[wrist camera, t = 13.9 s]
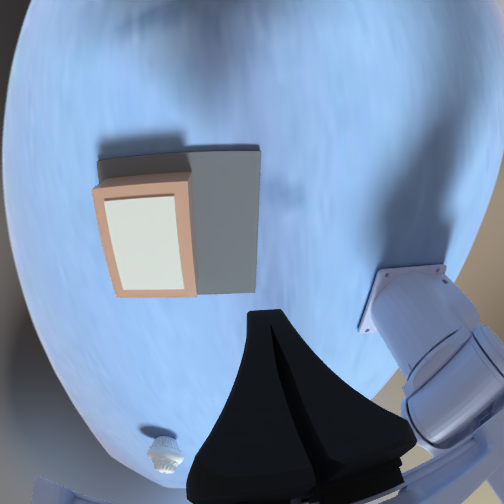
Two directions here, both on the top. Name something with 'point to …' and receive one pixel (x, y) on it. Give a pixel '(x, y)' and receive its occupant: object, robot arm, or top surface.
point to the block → (148, 234)
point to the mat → (212, 210)
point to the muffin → (165, 454)
